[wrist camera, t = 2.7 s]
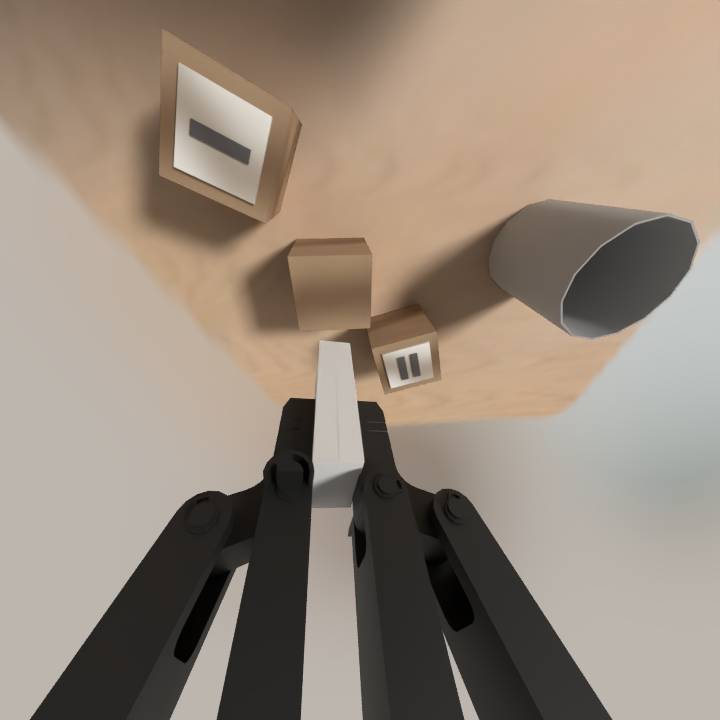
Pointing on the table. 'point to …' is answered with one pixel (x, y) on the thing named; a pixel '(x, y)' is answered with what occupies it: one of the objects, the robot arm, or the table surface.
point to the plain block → (331, 283)
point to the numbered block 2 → (404, 348)
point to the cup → (592, 263)
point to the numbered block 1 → (223, 133)
